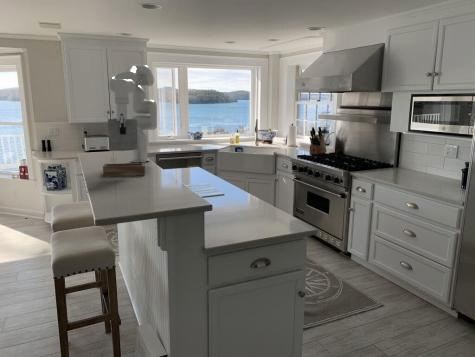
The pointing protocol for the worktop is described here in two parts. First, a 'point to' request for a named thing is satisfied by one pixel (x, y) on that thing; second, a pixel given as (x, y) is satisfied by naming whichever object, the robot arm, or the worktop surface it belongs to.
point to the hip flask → (122, 135)
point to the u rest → (123, 169)
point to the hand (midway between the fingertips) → (123, 133)
